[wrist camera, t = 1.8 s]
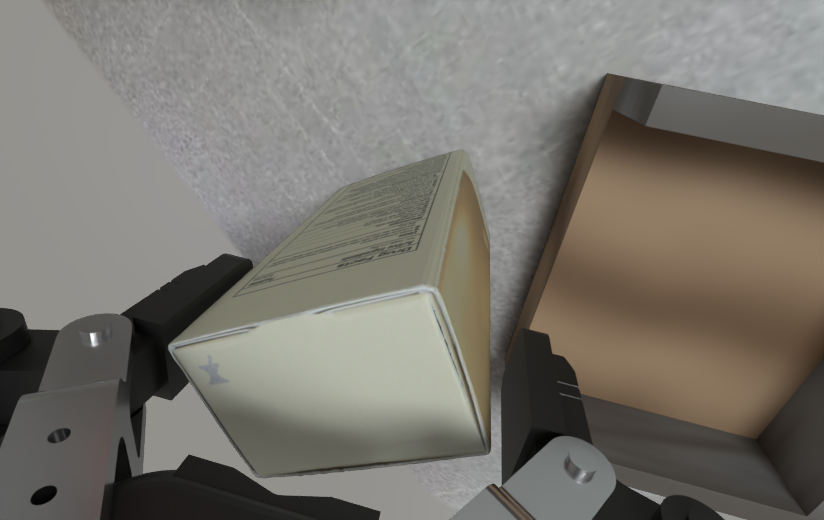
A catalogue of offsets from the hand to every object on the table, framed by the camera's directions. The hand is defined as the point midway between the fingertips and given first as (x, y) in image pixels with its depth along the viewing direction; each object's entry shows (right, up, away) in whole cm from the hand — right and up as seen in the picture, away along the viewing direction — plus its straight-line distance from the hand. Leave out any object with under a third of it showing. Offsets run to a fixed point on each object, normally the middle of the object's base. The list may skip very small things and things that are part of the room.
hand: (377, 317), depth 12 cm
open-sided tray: (+13, +1, +6) cm, 14 cm away
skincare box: (+1, +4, +7) cm, 9 cm away
